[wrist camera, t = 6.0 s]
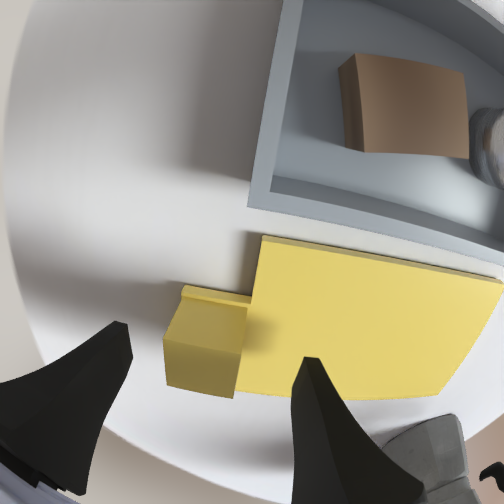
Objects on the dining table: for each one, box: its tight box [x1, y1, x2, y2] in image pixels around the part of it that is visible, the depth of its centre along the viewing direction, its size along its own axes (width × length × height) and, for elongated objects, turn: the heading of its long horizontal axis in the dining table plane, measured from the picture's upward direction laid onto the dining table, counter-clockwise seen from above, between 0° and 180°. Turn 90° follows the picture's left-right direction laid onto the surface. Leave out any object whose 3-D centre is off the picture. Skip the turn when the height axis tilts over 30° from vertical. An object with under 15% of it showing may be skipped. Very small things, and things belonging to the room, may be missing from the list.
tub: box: [247, 0, 504, 266], centre depth 7 cm, size 14×9×4 cm, turn 81°
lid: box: [163, 235, 504, 400], centre depth 12 cm, size 17×9×4 cm, turn 81°
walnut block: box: [338, 53, 469, 159], centre depth 7 cm, size 4×3×2 cm
